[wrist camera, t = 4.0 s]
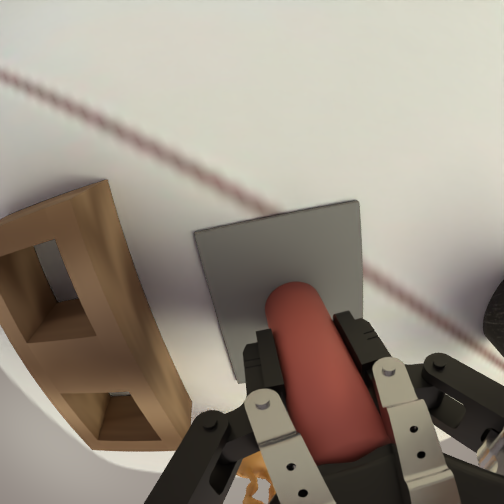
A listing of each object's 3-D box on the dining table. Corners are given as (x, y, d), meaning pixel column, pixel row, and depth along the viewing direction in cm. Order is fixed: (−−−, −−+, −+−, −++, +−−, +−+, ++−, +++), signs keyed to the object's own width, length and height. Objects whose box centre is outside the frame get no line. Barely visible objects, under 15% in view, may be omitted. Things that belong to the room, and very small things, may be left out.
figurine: (188, 434, 21) (185, 575, 10) (219, 390, 19) (227, 567, 8) (281, 452, 23) (304, 573, 12) (321, 414, 21) (364, 553, 10)
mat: (194, 232, 15) (194, 234, 14) (356, 200, 15) (359, 201, 14) (237, 380, 19) (238, 383, 18) (359, 352, 19) (361, 355, 18)
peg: (260, 288, 16) (298, 456, 7) (318, 276, 16) (401, 425, 7) (269, 334, 17) (304, 491, 8) (321, 322, 17) (386, 467, 8)
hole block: (6, 215, 13) (-37, 241, 9) (107, 179, 13) (70, 199, 10) (104, 407, 19) (92, 449, 15) (191, 402, 19) (189, 449, 15)
